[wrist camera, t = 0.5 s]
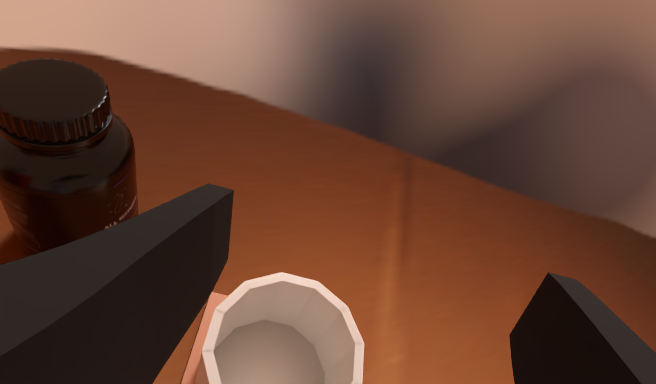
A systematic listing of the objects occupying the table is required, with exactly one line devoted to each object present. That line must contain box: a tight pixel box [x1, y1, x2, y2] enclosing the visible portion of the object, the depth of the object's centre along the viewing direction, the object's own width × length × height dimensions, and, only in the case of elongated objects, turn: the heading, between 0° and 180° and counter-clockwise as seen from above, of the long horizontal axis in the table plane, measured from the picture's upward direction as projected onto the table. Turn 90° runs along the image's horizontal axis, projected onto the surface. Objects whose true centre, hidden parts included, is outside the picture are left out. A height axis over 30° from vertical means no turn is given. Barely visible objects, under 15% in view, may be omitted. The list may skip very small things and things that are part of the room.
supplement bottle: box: [0, 58, 138, 256], centre depth 23 cm, size 7×7×12 cm
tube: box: [181, 272, 364, 384], centre depth 23 cm, size 10×10×6 cm
